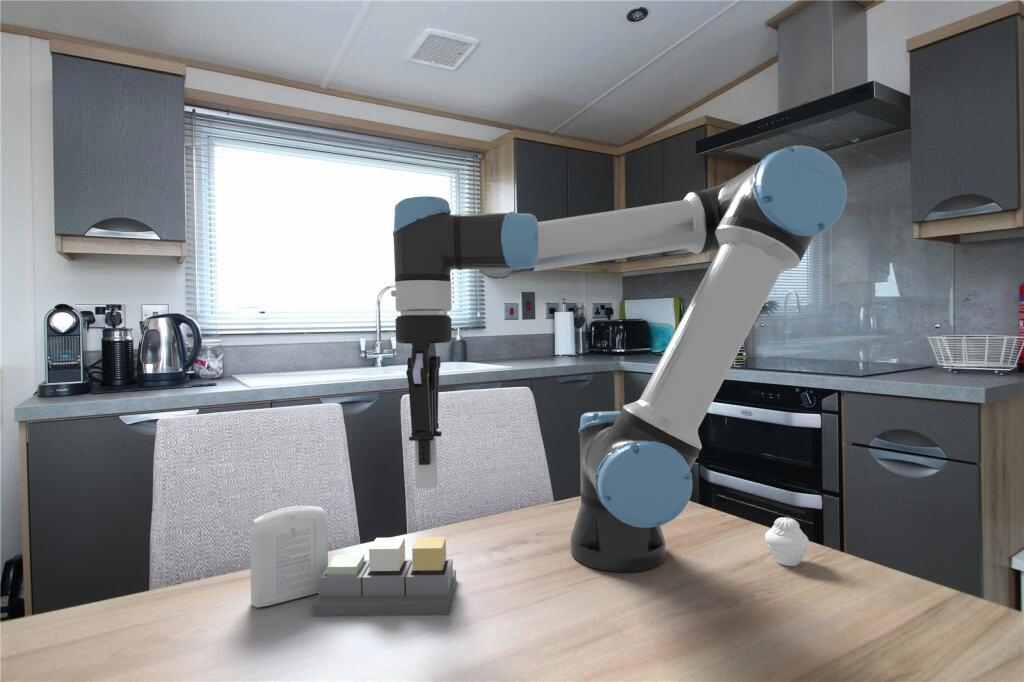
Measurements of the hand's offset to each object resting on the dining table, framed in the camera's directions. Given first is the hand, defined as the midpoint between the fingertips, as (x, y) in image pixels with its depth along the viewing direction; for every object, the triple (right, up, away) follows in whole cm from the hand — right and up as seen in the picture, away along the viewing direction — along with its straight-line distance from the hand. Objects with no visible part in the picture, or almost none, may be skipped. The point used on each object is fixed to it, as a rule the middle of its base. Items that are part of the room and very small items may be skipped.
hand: (426, 486), depth 78 cm
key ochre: (0, -11, 0) cm, 11 cm away
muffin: (+54, -14, +10) cm, 57 cm away
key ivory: (-5, -11, 0) cm, 12 cm away
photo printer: (-19, -16, +1) cm, 25 cm away
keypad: (-5, -15, +1) cm, 16 cm away
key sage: (-11, -13, +1) cm, 17 cm away
